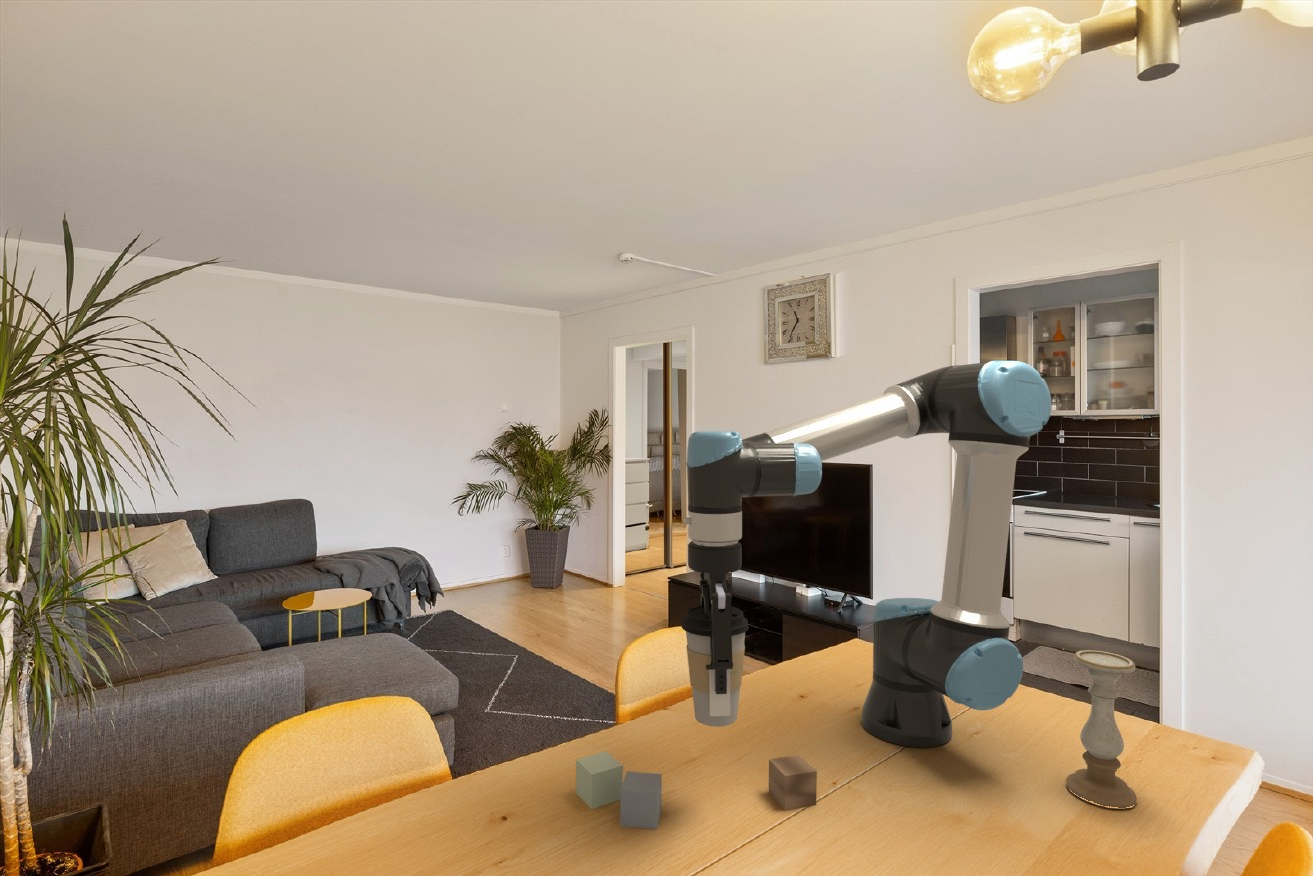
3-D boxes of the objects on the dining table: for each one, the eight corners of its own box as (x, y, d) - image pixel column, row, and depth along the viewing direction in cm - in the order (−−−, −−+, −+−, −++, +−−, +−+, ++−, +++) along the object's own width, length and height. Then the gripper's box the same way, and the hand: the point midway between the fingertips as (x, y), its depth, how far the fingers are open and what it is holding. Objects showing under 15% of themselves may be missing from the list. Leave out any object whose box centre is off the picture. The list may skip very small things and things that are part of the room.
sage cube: (605, 784, 103) (606, 751, 103) (622, 799, 99) (622, 765, 99) (575, 793, 100) (576, 759, 100) (591, 810, 96) (591, 774, 96)
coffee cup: (746, 735, 91) (746, 623, 91) (676, 729, 93) (676, 620, 93) (751, 706, 100) (750, 604, 100) (687, 701, 102) (686, 601, 102)
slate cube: (661, 809, 97) (661, 774, 96) (656, 830, 92) (657, 793, 91) (626, 806, 97) (626, 771, 97) (620, 826, 92) (620, 790, 92)
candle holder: (1125, 784, 104) (1129, 652, 104) (1145, 816, 96) (1149, 672, 95) (1059, 774, 107) (1063, 645, 106) (1073, 804, 99) (1077, 664, 98)
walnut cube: (798, 787, 103) (799, 754, 102) (816, 805, 98) (816, 771, 98) (768, 793, 101) (768, 759, 101) (785, 811, 96) (785, 776, 96)
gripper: (681, 529, 106) (682, 674, 107) (695, 556, 85) (696, 736, 86) (729, 528, 107) (730, 672, 107) (755, 555, 86) (756, 735, 86)
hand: (715, 701), depth 97 cm, fingers closed on coffee cup, 8 cm apart
